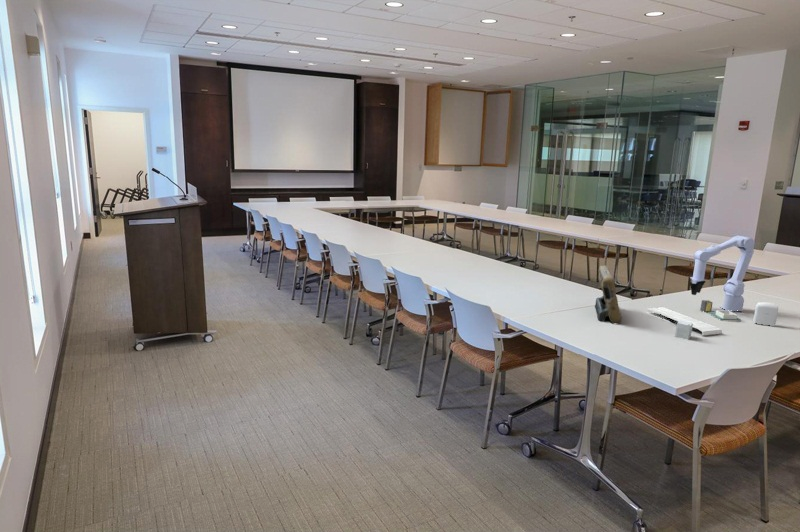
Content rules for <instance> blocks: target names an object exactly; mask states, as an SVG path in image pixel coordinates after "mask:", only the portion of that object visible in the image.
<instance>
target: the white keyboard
mask: <svg viewBox="0 0 800 532" xmlns="http://www.w3.org/2000/svg"><path fill="white" fill-rule="evenodd" d="M647 310H649V311H645V313H644V314H646V315H647V314H648V315H650V316H651V315H652V316H651V317H655V318H656V316H657V317H658V318H657V319H659V317H660V316H661V317H660V318H662V319H663V318H664V316H665V317H667V318H670V319H672V320H674V322H675V321H676V322H677V323H678V322H679V321H680V320H681V321H686V322H690V323H693V327H692V328H695V329H697V330H699V332H701V334H700V337H703V336H714V335H715V336H717V335H720V334H723V330H722V329H721V328H720V327H718V326H715V325H713V324H709V323H706V322H703V321H700V320H699V319H695V318H694V317H690V316H687V315H685V314H683V313H679V312H677V311H674V310H671V309H670V308H667V307H664V306H661V307H660V306H659V307H658V308H657V307H649V308H647ZM654 313H655V314H654ZM657 314H658V315H657ZM660 314H661V315H660ZM659 315H660V316H659ZM662 316H663V317H662ZM716 334H717V335H716Z"/></svg>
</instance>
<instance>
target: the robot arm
mask: <svg viewBox="0 0 800 532" xmlns="http://www.w3.org/2000/svg"><path fill="white" fill-rule="evenodd" d="M755 244H756V242H755V240H754V239H753V238H752V237H748V236H743V235H740V234H739V235H735V236H732V237H731V238H730V239H728V240H726V241H724V242H722V243H720V244H718V245H717V244H711V245H710V246H709V247H706V248H703V249H702V250H701V249H699V250H697V251H695V253H694V254H693V258H694V269H693V274H692V276H690V277H689V278H690V279H691V280H692V281H690V282H689V283H688V284H689V285H690V290H691V295H693V296H696V295H697V293H698V294H700V293H701V291H702V289H703V286H704V285H705V283H706V280H705V274H706V268H707V264H708V263H707V262H709V260H710V259H711V258H714V256H717V255H719V254H721V252H722V251H724V250H727V249H730V248H732V247H736V248H738V249H739V251H740V252H741V253H740V256H739V259H738V261H737V263H736V266H735V268H734V271H733V274H732V276H731V278H729V279H728V280H727V281H726V283H725V284H724V285H723V291H724V298H723V304H722V305H723V306H720V307H721V308H720V309H722V308H723V309H722V310H724V309H725V310H724V311H726V310H727V311H728V310H729V311H731V310H732V311H731V312H734V311H737V310H738V311H743V309H744V304H745V299H744V297H743V296H742V295H744V291H745V290H744V289H745V283H744V281H743V280H744V278H745V276H746V273H747V270H748V267H749V265H750V263H751V261H752V258H753V255H754V252H755V249H754V248H755Z"/></svg>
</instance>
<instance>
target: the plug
mask: <svg viewBox="0 0 800 532" xmlns="http://www.w3.org/2000/svg"><path fill="white" fill-rule="evenodd" d="M712 308H713V301H711V300H705V299H702V300H701V304H700V309H699V310H700V311H701V310H702V311H701V312H703V311H704V313H709V312H712Z"/></svg>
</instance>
